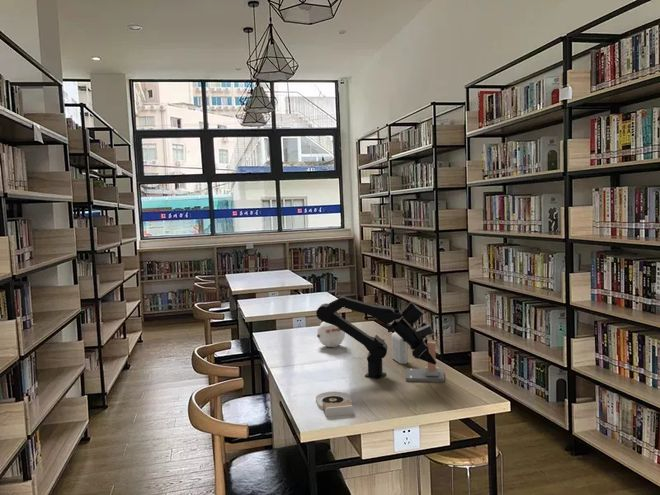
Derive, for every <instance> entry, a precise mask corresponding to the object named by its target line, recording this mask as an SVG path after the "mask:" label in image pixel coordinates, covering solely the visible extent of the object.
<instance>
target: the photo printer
mask: <svg viewBox="0 0 660 495" xmlns="http://www.w3.org/2000/svg"><path fill="white" fill-rule="evenodd" d="M390 340H391V343H390V344H391V359H392V360H395V361H396V362H397V363H399V364H401V365H406V364H407V363H409V345H408V344H407V343H406V342H404V341H403V339H402V338H401V337H400V336H399V335H398V334H397V333H396V332H395V331H394V332H393V333H391V339H390Z"/></svg>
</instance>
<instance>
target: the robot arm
mask: <svg viewBox="0 0 660 495" xmlns="http://www.w3.org/2000/svg"><path fill="white" fill-rule="evenodd" d="M343 308H344V309H347V310H350V311H353V312H358V313H361V314H365V315H368V316H371V317H373V318H374V319H376V320H378V321H380V322H382V323H384V324H387V326H386V327H387V333H391V332H392V331H394V332H396V333H397V334H398V335H399V336H400V337H401V338H402V339H403V341H404V342H406V343H407V344H408V347H409V348H410V349H411V352H412V353H411V354H412V357H413V358H415V359H417V360H421V361H424V362H427V363H428V362H429V363H432V364H434V365H435V364H436V365H437V361H435V360H434V358H433V357H432V356H431V354H430V353H429V351H428V346H427V342H429V340H428V337H427V336H432V334H434V329H433V328H432V326H431V324H430V323H426V322H422V323H421V324H420V327H418V328H417V329H416V328H415V327H412V326H411V324H413V325H415V324H416V323H417V322H418V321H419V320H420V319H421V318H422V316H424V315H425V312H424V311H423V310H422V309H421V308H420V307H419V306H417V305H416V304H415V303H413V302H412V301H410V302H409V304H407V306H405V308H404V309H402V310H401V309H397V308H396V309H394V308H393V307H392V306H391V305H390V306H389V305H382V304H381V305H379V304H378V305H376V304H371V303H367V302H364V301H361V300H357V299H354V298H350V297H348V296H346V295H342V296H341V295H340V297H338V298H337V299H335V300H333V301H331V302H329V303H323V304H321V305H320V306H318V308H317V309H316V313H315V315H316V318H317V319H318V320H320V321H322V322H326V323H329V324H332V325H335V326H336V327H338V328H339V329H341V330H342V331H344V332H345V334H346V335H348V336H350V337H351V338H353V339H354V340H356V341H357V342H359V343H360V344H361V345H363V346H364V347H365V349H366V350H367V351H368V353H367V356H366V361H367V373H366V374H364V377H367V378H372V379H381V378H383V377H385V376H386V375H387V373H386V372H384V371H383V370H384V368H383V359H384V358H385V357H386V356H387V353H388V344H387V343H386V342H385V339H383V338H381V337H380V336H379V335H378V334H376V335H375V336H372V335H371V336H370V335H369V334H368V333H366V332H364V331H363V330H361V329H360V328H358V327H357V326H356V325H354V324H353V323H352V322H350V321H348V320H346V319H345V318H344V317H343V316H341V314H340V313H338V311H339V310H341V309H343Z"/></svg>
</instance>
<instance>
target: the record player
mask: <svg viewBox="0 0 660 495" xmlns="http://www.w3.org/2000/svg"><path fill="white" fill-rule="evenodd" d="M315 403H316V405H317V407H318V408H319V409H321V410H323V411H324V415H325V416H326V417H338V416H347V415H354V414H355V407H354V405H353V401H352V399H351V397H350V395H349V394H348V393H345V392H341V391H327V392H326V391H325V392H322V393H319V394H317V395H316V396H315Z"/></svg>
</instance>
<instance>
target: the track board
mask: <svg viewBox="0 0 660 495" xmlns="http://www.w3.org/2000/svg"><path fill="white" fill-rule="evenodd" d="M438 371H439V376H425V368H406V370H405V382H421V383H422V382H423V383H424V382H427V383H428V382H433V383H445V375H444V369H443V368H438Z"/></svg>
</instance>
